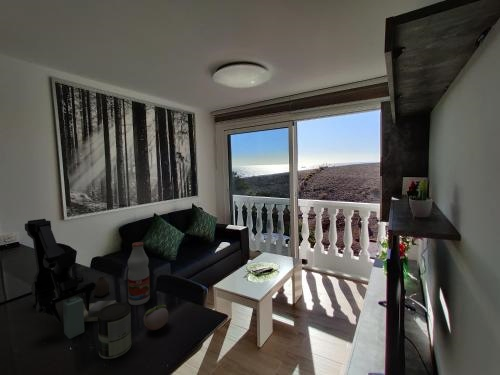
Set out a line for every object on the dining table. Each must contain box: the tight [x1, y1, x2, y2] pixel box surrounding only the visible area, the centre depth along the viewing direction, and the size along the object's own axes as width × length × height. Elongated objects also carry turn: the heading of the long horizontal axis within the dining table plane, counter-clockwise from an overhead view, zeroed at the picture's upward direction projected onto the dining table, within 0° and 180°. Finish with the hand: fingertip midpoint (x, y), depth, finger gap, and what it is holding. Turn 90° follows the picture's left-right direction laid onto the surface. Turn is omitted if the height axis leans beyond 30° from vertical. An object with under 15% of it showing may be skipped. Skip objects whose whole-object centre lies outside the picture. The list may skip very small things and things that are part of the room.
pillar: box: [62, 295, 85, 340], centre depth 96 cm, size 5×5×14 cm
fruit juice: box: [127, 241, 151, 306], centre depth 119 cm, size 9×9×28 cm
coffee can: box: [97, 302, 132, 360], centre depth 88 cm, size 10×10×14 cm
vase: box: [93, 276, 111, 298], centre depth 124 cm, size 7×7×9 cm
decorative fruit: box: [143, 304, 169, 331], centre depth 98 cm, size 9×8×10 cm
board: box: [83, 299, 119, 323], centre depth 109 cm, size 16×12×4 cm
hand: (74, 316), depth 95 cm, fingers open, 9 cm apart
